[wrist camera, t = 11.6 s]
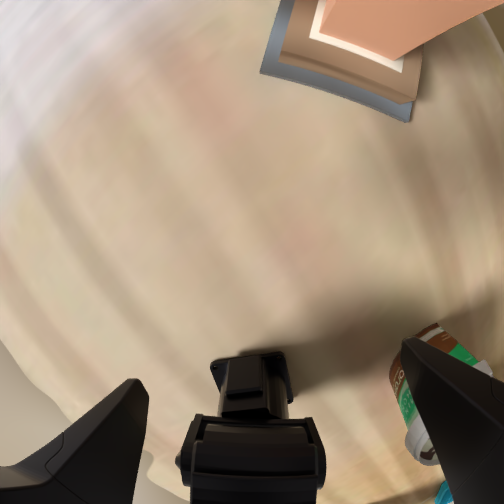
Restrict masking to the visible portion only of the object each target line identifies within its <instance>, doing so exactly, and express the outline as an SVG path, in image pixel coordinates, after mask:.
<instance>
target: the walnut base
mask: <svg viewBox="0 0 504 504" xmlns="http://www.w3.org/2000/svg"><path fill="white" fill-rule="evenodd" d="M325 4H326V0H281V1H280V5H279V8H278V11H277V14H276V18H275V21H274V24H273V27H272V31H271V34H270V37H269V41H268V44H267V48H266V51H265V55H264V58H263V62H262V65H261V69H260V74H264V75H268V76H273V77H277V78H281V79H285V80H288V81H292V82H296V83H299V84H303V85H306V86H310V87H313V88H316V89H319V90H323V91H326V92H329V93H332V94H335V95H338V96H340V97H343V98H346V99H349V100H352V101H354V102H357V103H360V104H362V105H365V106H367V107H370V108H372V109H375V110H377V111H380V112H382V113H384V114H387V115H389V116H391V117H393V118H396V119H398V120H400V121H402V122H404V123H406V122H409V118H410V113H411V108H412V102H413V101H414V100H416V96H417V90H418V84H419V77H420V70H421V63H422V55H423V45H424V43H423V44H421V45H419V46H418V47H416V48H414V49H413V50H411V51H409V52H407V53H406V54H404V55H402V56H401V57H399V58H397V59H396V60H394V61H392V60H390V59H388V58H385V57H383V56H381V55H379V54H376V53H374V52H371V51H369V50H366V49H364V48H361V47H359V46H356V45H354V44H351V43H348V42H345V41H342V40H340V39H337V38H334V37H331V36H327V35H324V34H321V33H319V29H320V25H321V21H322V17H323V13H324V8H325Z"/></svg>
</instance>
